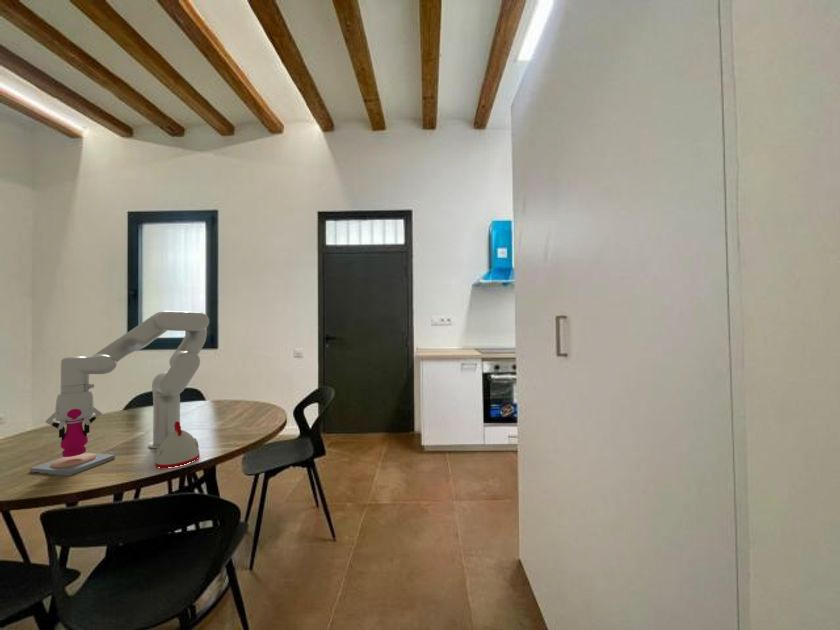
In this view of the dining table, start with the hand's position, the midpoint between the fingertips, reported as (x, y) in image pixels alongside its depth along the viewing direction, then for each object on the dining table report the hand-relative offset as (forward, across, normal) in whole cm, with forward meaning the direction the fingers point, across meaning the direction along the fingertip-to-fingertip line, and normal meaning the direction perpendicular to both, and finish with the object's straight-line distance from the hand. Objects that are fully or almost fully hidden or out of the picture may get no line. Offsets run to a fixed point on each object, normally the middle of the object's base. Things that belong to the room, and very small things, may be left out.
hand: (74, 436), depth 127 cm
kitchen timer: (+11, -29, +24) cm, 39 cm away
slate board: (+11, 0, 0) cm, 11 cm away
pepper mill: (+7, 0, 0) cm, 7 cm away
